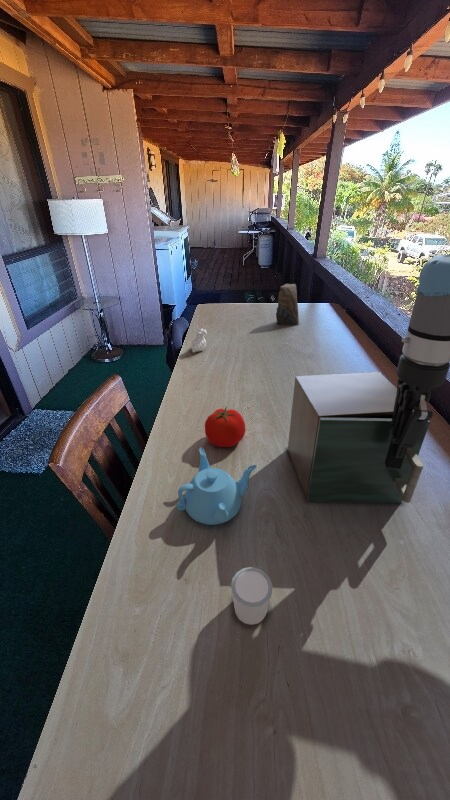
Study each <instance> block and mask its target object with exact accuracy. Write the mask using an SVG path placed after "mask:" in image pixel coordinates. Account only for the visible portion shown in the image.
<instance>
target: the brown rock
mask: <svg viewBox="0 0 450 800" xmlns="http://www.w3.org/2000/svg"><path fill="white" fill-rule="evenodd" d="M297 289H298V287H297V284H296V283H284V284H283V285H280V287H279V291H278V295H277V308H276V313H275V318H276V322H277V325H278V326H288V325H290V326H291V325H293V326H294V325H299V323H300V317H299V305H298V304H299V303H298V290H297Z"/></svg>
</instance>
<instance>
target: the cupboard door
mask: <svg viewBox="0 0 450 800" xmlns="http://www.w3.org/2000/svg"><path fill="white" fill-rule="evenodd" d="M391 421H392V419H387V418H319V425H318V431H317V438H316V444H315V450H314V457H313V463H312V469H311V476H310V482H309V489H308V495H307V497H306V500H307V502H322V503H323V502H326V503H363V504H364V503H367V504H368V503H369V504H402V502H404V503H406V504H410V503H411V501H412V498H413V495H414V493H415V490H416V487H417V485H418V482H419V480H420V476H421V474H422V472H423V469H424V466H425V465H424V463H423V461H422V459H420V457H419V454H420V452H421V449H422V446H423V443H424V440H425V437H426V435H427V432H428V429H429V426H430V423H431V420H429V421H427V423H426V425H425V427H424V429H423V431H422V433H421V435H420V437H419V439H418V441H417V443H416V445H415V446H414V448H409V447H407V450H406V453H405V457H404V460H403V463H402V466H401V469H397V468H388V467H386V465H385V460H386V457H387V453H388V450H389V446H390V443H391V438H392V437H393V435H392V431H393V428H391Z"/></svg>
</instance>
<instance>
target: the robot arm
mask: <svg viewBox="0 0 450 800" xmlns="http://www.w3.org/2000/svg"><path fill="white" fill-rule="evenodd" d="M418 276H419V277H418V286H417V288H416V295H415V299H414V302H413V307H412V311H411V315H410V317H409V318H410V319H409V323H408V327H407V331H406V334H405V335H406V336H403V337H402V338H401V342H402V344H403V346H402V351H401V352H402V354H401V355H400V356H399V360H398V364H397V368H396V376H397V378H398V379H397V382H396V383H397V384H396V388H397V394H396V399H395V405H394V410H393V415H392V421H391V428H393V431H392V435H393V437H392V438H391V443H390V446H389V450H388V453H387V457H386V460H385V465H386V467H388V468H397V469H401V466H402V463H403V460H404V457H405V453H406V450H407V447H409V448H414V446H415V445H416V443H417V441H418V439H419V437H420V435H421V433H422V431H423V429H424V427H425V425H426V423H427V421H431V419H432V418H433V416H434V412H433V410H428V407H427V405H428V403H429V402H430V400H431V397H432V393H431V392H432V390H433V389H434V388H437V387H440V386H442V385H444V383H445V381H446V379H447V375H448V373H449V370H450V254H438V255H435V256H433V257H431V258H430V259H429V260H427V261H426V262H425V263H424V264H423V266H422V268H421V270H420V272H419V275H418Z"/></svg>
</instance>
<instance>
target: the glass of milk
mask: <svg viewBox="0 0 450 800" xmlns="http://www.w3.org/2000/svg"><path fill="white" fill-rule="evenodd" d="M230 587H231V588H230V589H231V594H232V601H233V607H234V613H235V615H236V616H237V619H238V620H239V621H241V622H242V623H243V624H246V625H250V626H252V625H257V624H260V623H261V622H262V621H263V620H264V619H265V617H266V615H267V614H268V609H269V607H270V606H269V605H270V602H271V598H272V594H273V584H272V580H271V578H270V577H269V576H268V574H267V572H265V571H264V570H262V569H260V568H259V567H254V566H248V567H242V568H241V569H240V570H238V571H237V572H235V574H234V575H233V577H232V580H231V584H230Z"/></svg>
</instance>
